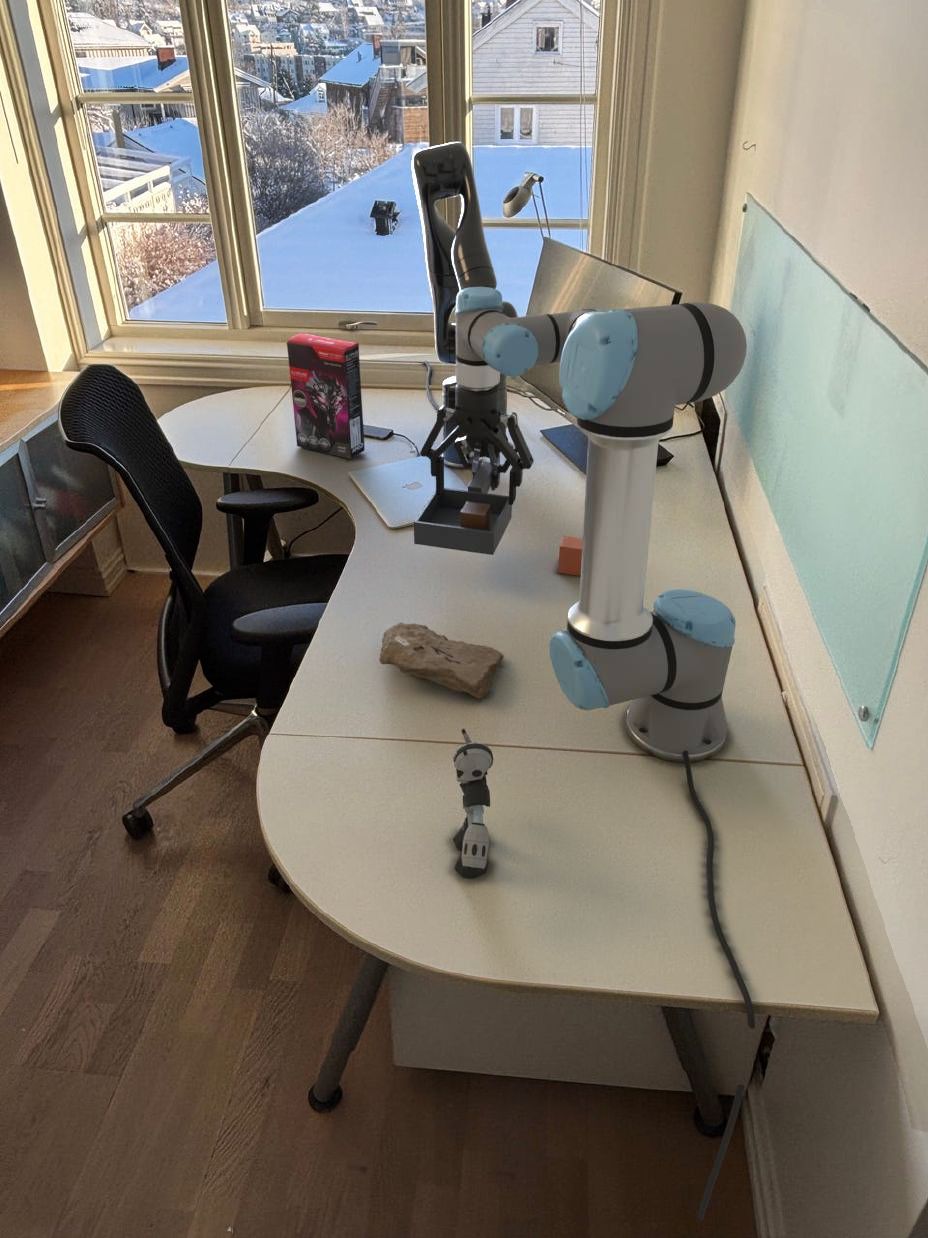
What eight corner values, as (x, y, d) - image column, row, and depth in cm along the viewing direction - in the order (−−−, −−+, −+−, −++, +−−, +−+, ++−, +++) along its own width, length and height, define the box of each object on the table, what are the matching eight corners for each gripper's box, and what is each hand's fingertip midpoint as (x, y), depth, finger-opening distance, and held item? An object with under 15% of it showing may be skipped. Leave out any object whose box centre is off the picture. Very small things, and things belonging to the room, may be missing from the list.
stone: (355, 671, 149) (362, 639, 147) (387, 639, 163) (394, 609, 160) (477, 715, 146) (486, 682, 144) (499, 678, 159) (507, 648, 157)
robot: (495, 914, 114) (500, 797, 103) (456, 915, 114) (456, 798, 103) (484, 799, 130) (487, 688, 119) (450, 801, 130) (450, 689, 119)
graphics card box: (294, 447, 232) (283, 339, 217) (310, 437, 237) (301, 331, 222) (351, 461, 225) (344, 350, 210) (367, 450, 230) (361, 342, 215)
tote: (493, 555, 169) (493, 528, 166) (414, 543, 172) (413, 517, 169) (524, 491, 190) (525, 466, 187) (453, 482, 194) (453, 457, 190)
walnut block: (483, 544, 171) (484, 515, 167) (460, 540, 172) (460, 512, 168) (489, 532, 174) (490, 504, 171) (466, 529, 175) (466, 501, 172)
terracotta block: (580, 575, 181) (582, 549, 178) (557, 572, 182) (559, 546, 179) (583, 564, 185) (586, 538, 182) (561, 561, 186) (563, 535, 183)
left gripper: (526, 404, 181) (522, 484, 191) (458, 397, 184) (457, 476, 194) (518, 418, 175) (514, 500, 185) (447, 410, 178) (448, 491, 188)
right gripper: (554, 383, 157) (547, 496, 168) (414, 369, 162) (416, 479, 174) (545, 398, 151) (538, 514, 162) (400, 383, 156) (404, 497, 168)
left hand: (485, 487), depth 189 cm, fingers closed on tote, 2 cm apart
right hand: (475, 497), depth 168 cm, fingers open, 13 cm apart
